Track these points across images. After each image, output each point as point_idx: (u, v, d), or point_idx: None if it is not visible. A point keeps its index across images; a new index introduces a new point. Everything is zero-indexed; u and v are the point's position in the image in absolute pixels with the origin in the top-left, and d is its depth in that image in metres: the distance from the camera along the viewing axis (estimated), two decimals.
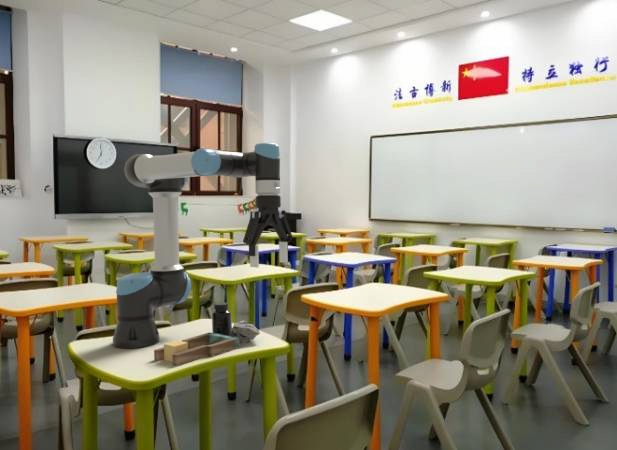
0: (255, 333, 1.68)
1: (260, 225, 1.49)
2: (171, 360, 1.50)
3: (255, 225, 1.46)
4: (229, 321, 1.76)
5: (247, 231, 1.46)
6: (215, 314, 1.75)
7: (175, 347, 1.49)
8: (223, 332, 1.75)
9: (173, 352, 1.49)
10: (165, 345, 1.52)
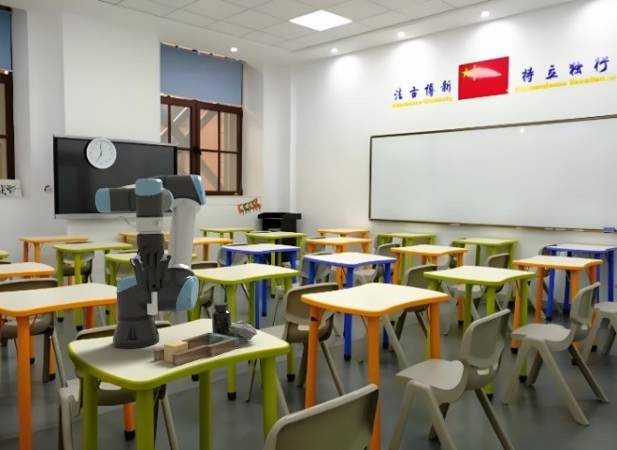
0: (252, 333, 1.68)
1: (146, 269, 1.43)
2: (171, 360, 1.50)
3: (141, 272, 1.41)
4: (229, 321, 1.76)
5: (137, 280, 1.42)
6: (215, 314, 1.75)
7: (175, 347, 1.49)
8: (223, 332, 1.75)
9: (173, 352, 1.49)
10: (165, 345, 1.52)
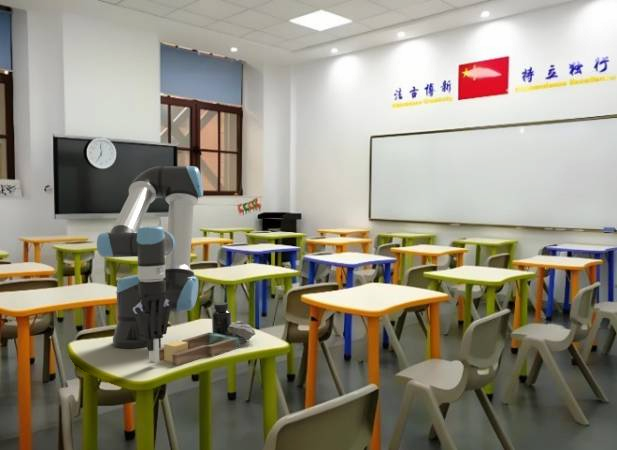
0: (250, 334, 1.68)
1: (148, 317, 1.44)
2: (171, 360, 1.50)
3: (143, 320, 1.42)
4: (229, 321, 1.76)
5: (139, 328, 1.43)
6: (215, 314, 1.75)
7: (175, 347, 1.49)
8: (223, 332, 1.75)
9: (173, 352, 1.49)
10: (165, 345, 1.52)
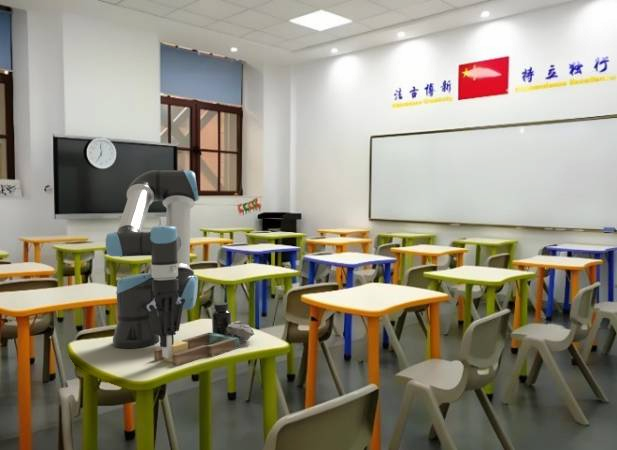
0: (249, 334, 1.68)
1: (161, 314, 1.48)
2: (171, 360, 1.50)
3: (156, 318, 1.45)
4: (229, 321, 1.76)
5: (152, 325, 1.47)
6: (215, 314, 1.75)
7: (175, 347, 1.49)
8: (223, 332, 1.75)
9: (173, 352, 1.49)
10: None
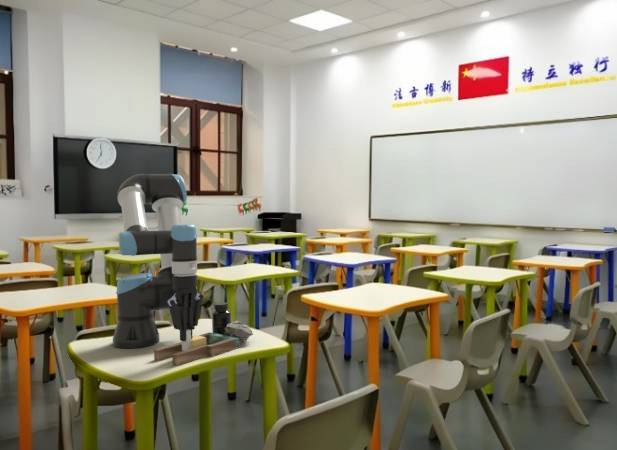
0: (248, 334, 1.68)
1: (181, 309, 1.54)
2: None
3: (177, 312, 1.51)
4: (229, 321, 1.76)
5: (173, 319, 1.52)
6: (215, 314, 1.75)
7: (194, 341, 1.55)
8: (223, 332, 1.75)
9: (192, 346, 1.55)
10: None
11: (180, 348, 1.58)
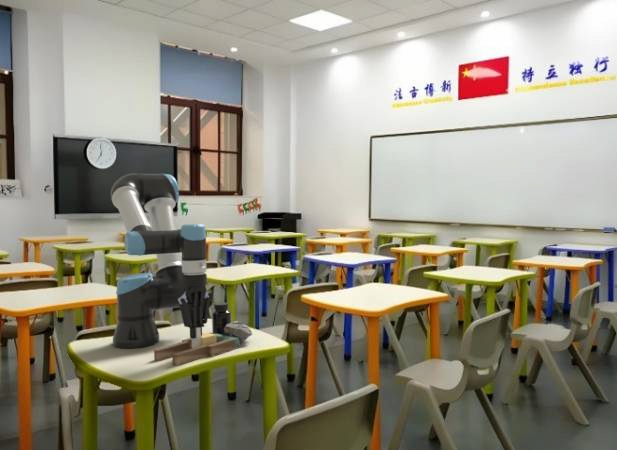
0: (247, 334, 1.68)
1: (191, 307, 1.57)
2: None
3: (187, 310, 1.54)
4: (229, 321, 1.76)
5: (183, 317, 1.56)
6: (215, 314, 1.75)
7: (204, 338, 1.58)
8: (223, 332, 1.75)
9: (202, 343, 1.58)
10: None
11: (180, 348, 1.58)
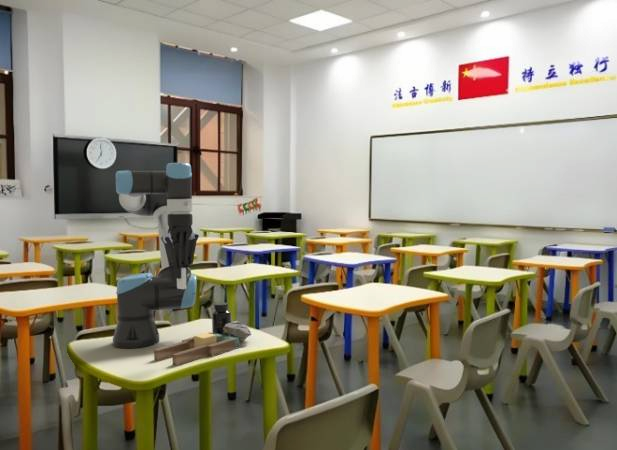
0: (245, 334, 1.67)
1: (176, 247, 1.55)
2: None
3: (172, 249, 1.53)
4: (229, 321, 1.76)
5: (168, 256, 1.54)
6: (215, 314, 1.75)
7: (204, 339, 1.58)
8: None
9: (202, 344, 1.58)
10: (195, 337, 1.61)
11: (180, 348, 1.58)
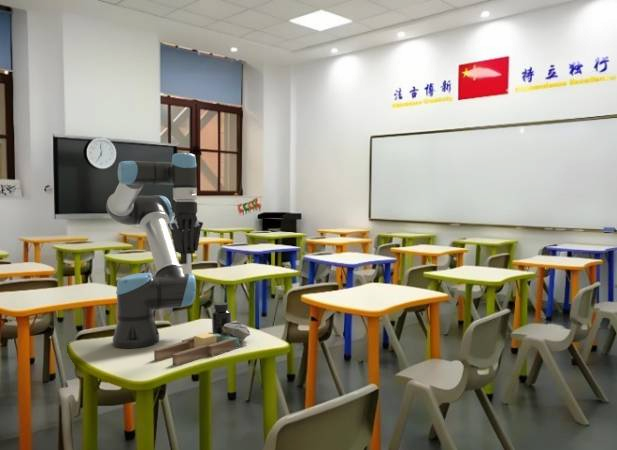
0: (244, 334, 1.68)
1: (182, 233, 1.63)
2: None
3: (178, 235, 1.60)
4: (229, 321, 1.76)
5: (174, 242, 1.61)
6: (215, 314, 1.75)
7: (204, 339, 1.58)
8: None
9: (202, 344, 1.58)
10: (195, 337, 1.61)
11: (180, 348, 1.58)
